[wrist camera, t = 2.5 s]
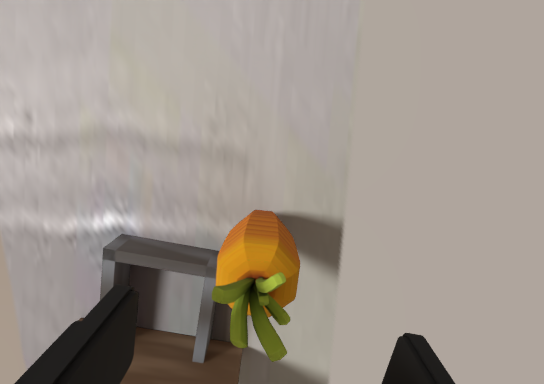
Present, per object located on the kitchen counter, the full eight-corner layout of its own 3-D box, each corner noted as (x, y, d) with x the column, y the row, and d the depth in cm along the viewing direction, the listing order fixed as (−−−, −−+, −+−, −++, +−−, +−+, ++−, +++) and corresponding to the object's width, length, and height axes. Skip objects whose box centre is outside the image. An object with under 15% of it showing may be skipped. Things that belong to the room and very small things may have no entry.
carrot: (227, 199, 26) (169, 301, 11) (282, 183, 26) (294, 267, 11) (245, 249, 27) (212, 401, 12) (297, 235, 27) (327, 373, 12)
